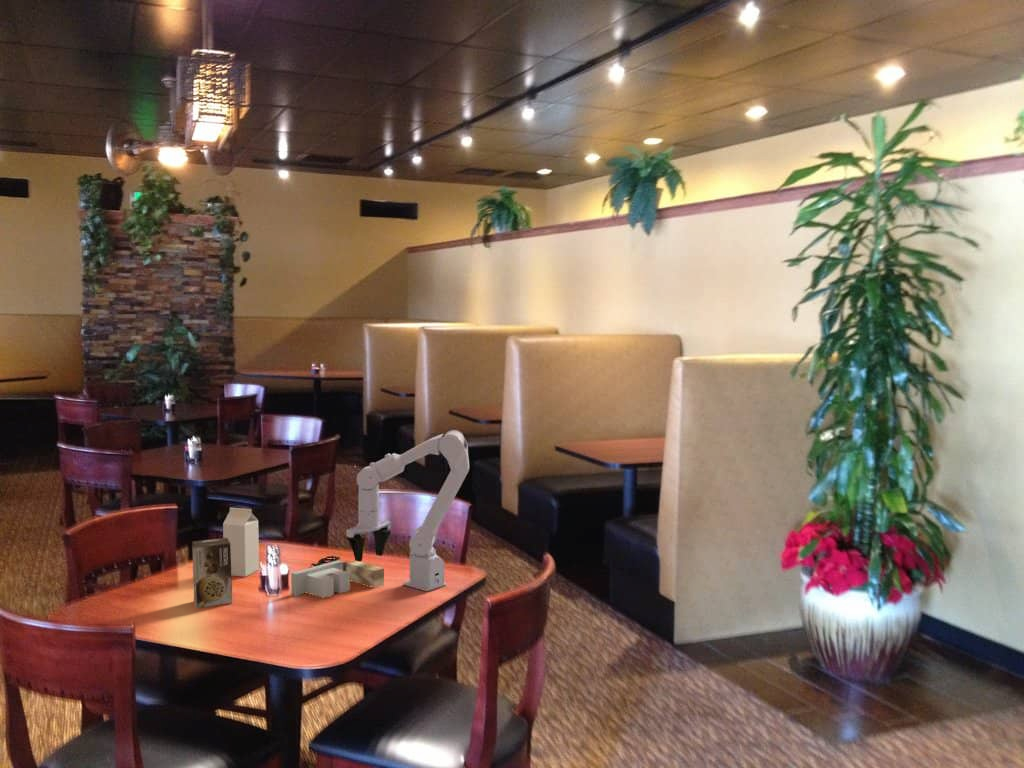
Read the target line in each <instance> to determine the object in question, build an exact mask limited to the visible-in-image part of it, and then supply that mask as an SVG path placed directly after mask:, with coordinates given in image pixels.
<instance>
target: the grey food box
mask: <svg viewBox="0 0 1024 768" xmlns="http://www.w3.org/2000/svg"><path fill="white" fill-rule="evenodd" d="M191 544H192V545H191V546H192V571H193V572H192V578H193V579H192V581H193V601H194V602H193V603H194V605H196V606H195V608H196V609H201V607H202V608H209V607H213V606H221V605H228V604H233V602H234V601H233V580H232V579H233V576H232V573H231V543H230V542H229V540H228V538H223V537H221V538H212V539H204V540H196V541H192V543H191Z"/></svg>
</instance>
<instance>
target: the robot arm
mask: <svg viewBox="0 0 1024 768" xmlns="http://www.w3.org/2000/svg"><path fill="white" fill-rule="evenodd" d="M468 446H469V444H468V442H467V440H466V438H465V437H464V434H463V433H462V432H461V431H459V430H455V429H452V430H448V431H447V432H446V433H442V434H439V435H436V436H433V437H431V438H429V439H427V440H425V441H423V442H422V443H420V444H418V445H415V446H414V447H413V448H410V449H408V450H407V451H405V452H404V453H403V452H402V453H401V454H399V453H398V454H397V453H395V452H393V453H392V454H391V453H387V454H384V457H383V458H382V459H380V460H378V461H376V462H370V463H369V465H368V466H364V468H362V469H361V470H360V471H359V472H358V473H357V476H356V483H357V485H358V499H357V500H358V510H357V511H358V523H357V524H356V525H355V526H353V527H350V528H348V529H346V531H345V532H346V540H347V541H348V543H349V545H350V548H351V550H352V552H353V556H354V561H359V562H363V557H364V556H363V555H364V553H363V552H364V550H363V549H364V545H365V541H366V537H362V535H364V534H369V533H372V534H373V539H374V545H375V546H374V547H375V548H374V552H375V555H376V556H378V557H379V556H381V557H383V555H384V551H385V548H386V544H387V541H388V539H389V537H390V536H391V534H392V531H391V530H390V529H391V527H392V526H391V521H389V520H381V521H380V491H379V490H380V488H379V487H380V485H379V483H383V482H385V481H387V480H389V479H391V478H393V477H395V476H397V475H399V474H401V473H403V472H404V470H405V466H406V465H408V464H410V463H413V462H415V461H417V460H419V459H421V458H423V457H425V456H427V455H436V456H440V454H442V456H443V457H444V458H445V459H446V461H447V464H448V465H449V469H450V471H449V473H448V475H447V477H446V479H445V481H444V482H443V485H442V487H441V488H440V489H439V492H438V494H437V496H436V497H435V499H434V502H433V503H432V505H431V507H430V509H429V510H428V513H427V515H426V517H425V519H424V520H423V522H422V523H421V525H420V526H418V527H417V528H416V529H415V531H414V532H413V535H412V536H411V537H410V539H409V541H408V542H409V543H408V546H409V547H408V548H409V550H410V551H409V580H408V581H406V582H405V581H404V582H403V583H402V585H404V586H407V587H411V588H413V589H417V590H421V591H425V592H429V591H432V590H435V589H437V588H441V587H444V586H447V583H446V582H445V562H444V559H443V558H441V557H440V556H439V555H437V553H436V552H437V550H436V548H434V546H433V545H434V544H435V542H436V539H437V531H438V530H439V528H440V525H441V524H442V522H443V520H444V518H445V516H446V514H447V513H448V510H449V509H450V507H451V505H452V503H453V502H454V499H455V497H456V495H458V494H457V493H458V492H459V490H460V488H461V487H462V485H463V482H464V481H465V479H466V477H467V475H468V473H469V472H470V471H469V470H470V459H469V458H470V457H469V447H468Z"/></svg>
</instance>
